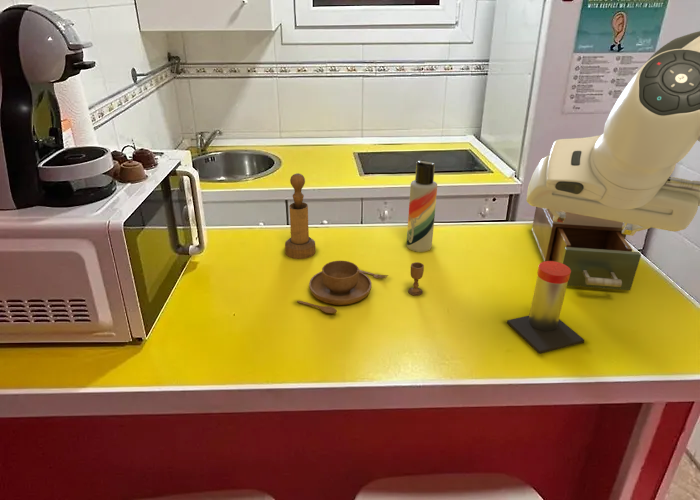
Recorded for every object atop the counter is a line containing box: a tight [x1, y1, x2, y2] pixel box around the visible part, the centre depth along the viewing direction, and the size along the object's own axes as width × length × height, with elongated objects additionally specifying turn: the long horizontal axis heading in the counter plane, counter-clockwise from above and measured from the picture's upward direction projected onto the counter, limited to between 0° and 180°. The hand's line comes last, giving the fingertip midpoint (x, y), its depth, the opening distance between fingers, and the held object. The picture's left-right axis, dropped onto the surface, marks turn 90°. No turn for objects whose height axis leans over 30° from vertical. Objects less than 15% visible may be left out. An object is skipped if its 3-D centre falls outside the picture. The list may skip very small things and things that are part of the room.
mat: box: [506, 315, 585, 355], centre depth 89 cm, size 9×9×1 cm
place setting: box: [296, 260, 425, 314], centre depth 97 cm, size 18×20×6 cm
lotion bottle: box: [406, 159, 438, 253], centre depth 112 cm, size 6×6×20 cm
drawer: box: [550, 227, 642, 291], centre depth 103 cm, size 20×13×8 cm
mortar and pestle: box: [284, 172, 317, 260], centre depth 110 cm, size 7×6×18 cm
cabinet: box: [531, 207, 627, 262], centre depth 114 cm, size 17×15×10 cm
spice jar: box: [528, 261, 571, 331], centre depth 88 cm, size 5×5×11 cm
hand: (592, 224), depth 75 cm, fingers open, 8 cm apart
